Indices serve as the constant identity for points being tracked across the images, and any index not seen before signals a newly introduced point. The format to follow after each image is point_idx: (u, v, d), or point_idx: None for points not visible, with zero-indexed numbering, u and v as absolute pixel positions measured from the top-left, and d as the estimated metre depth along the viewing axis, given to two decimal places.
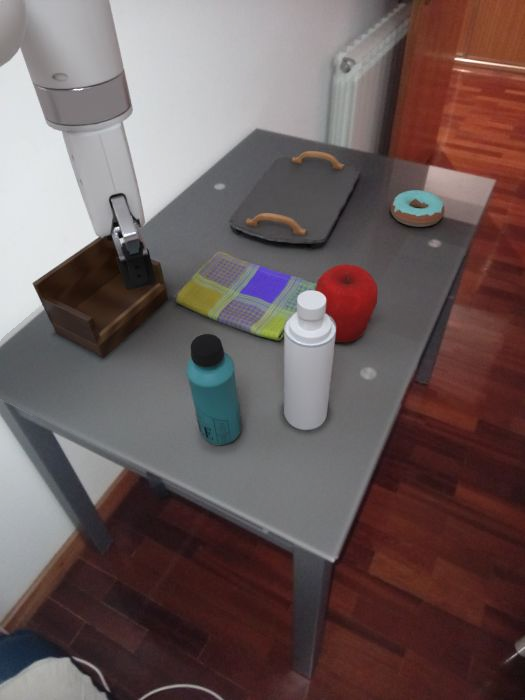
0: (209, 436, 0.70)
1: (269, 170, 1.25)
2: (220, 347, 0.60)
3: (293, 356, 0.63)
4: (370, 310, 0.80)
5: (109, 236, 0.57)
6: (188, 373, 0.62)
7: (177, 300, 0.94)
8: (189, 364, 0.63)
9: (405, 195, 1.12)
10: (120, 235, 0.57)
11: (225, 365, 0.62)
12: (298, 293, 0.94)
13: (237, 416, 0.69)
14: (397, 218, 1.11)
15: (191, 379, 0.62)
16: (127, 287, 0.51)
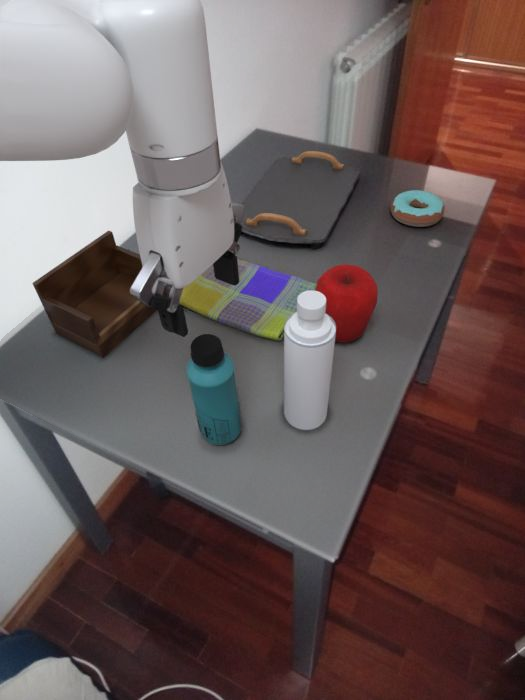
0: (209, 436, 0.70)
1: (269, 170, 1.25)
2: (220, 347, 0.60)
3: (293, 356, 0.63)
4: (370, 310, 0.80)
5: (215, 274, 0.58)
6: (188, 373, 0.62)
7: None
8: (189, 364, 0.63)
9: (405, 195, 1.12)
10: (224, 279, 0.58)
11: (225, 365, 0.62)
12: (298, 293, 0.94)
13: (237, 416, 0.69)
14: (397, 218, 1.11)
15: (191, 379, 0.62)
16: None
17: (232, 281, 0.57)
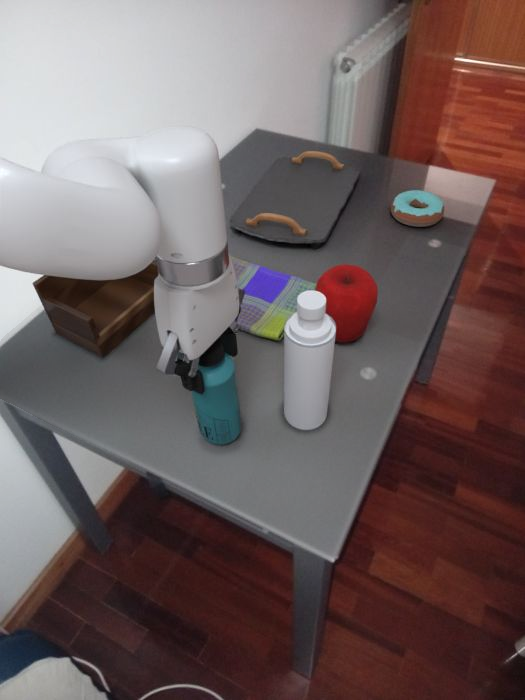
0: (209, 436, 0.70)
1: (269, 170, 1.25)
2: (220, 347, 0.60)
3: (293, 356, 0.63)
4: (370, 310, 0.80)
5: None
6: None
7: None
8: None
9: (405, 195, 1.12)
10: (224, 351, 0.65)
11: (225, 365, 0.62)
12: (298, 293, 0.94)
13: (237, 416, 0.69)
14: (397, 218, 1.11)
15: None
16: None
17: (232, 353, 0.65)
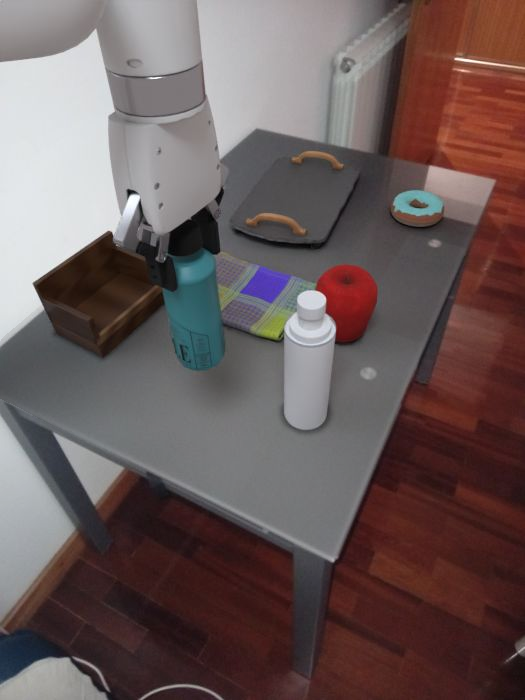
0: (186, 358, 0.59)
1: (269, 170, 1.25)
2: (198, 231, 0.49)
3: (293, 356, 0.63)
4: (370, 310, 0.80)
5: None
6: None
7: None
8: None
9: (405, 195, 1.12)
10: (204, 248, 0.54)
11: (204, 259, 0.51)
12: (298, 293, 0.94)
13: (219, 333, 0.58)
14: (397, 218, 1.11)
15: None
16: None
17: (212, 250, 0.53)
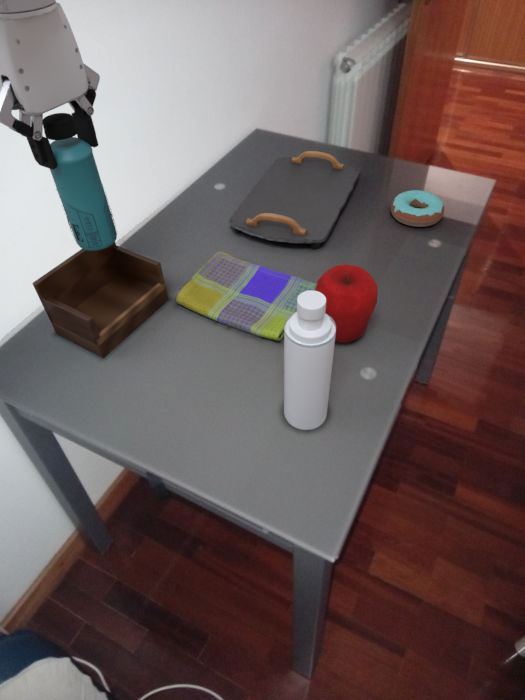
0: (80, 238, 0.73)
1: (269, 170, 1.25)
2: (70, 120, 0.62)
3: (293, 356, 0.63)
4: (370, 310, 0.80)
5: (79, 138, 0.68)
6: None
7: (177, 300, 0.94)
8: None
9: (405, 195, 1.12)
10: None
11: (80, 146, 0.65)
12: (298, 293, 0.94)
13: (105, 216, 0.72)
14: (397, 218, 1.11)
15: None
16: (38, 162, 0.64)
17: (91, 142, 0.67)
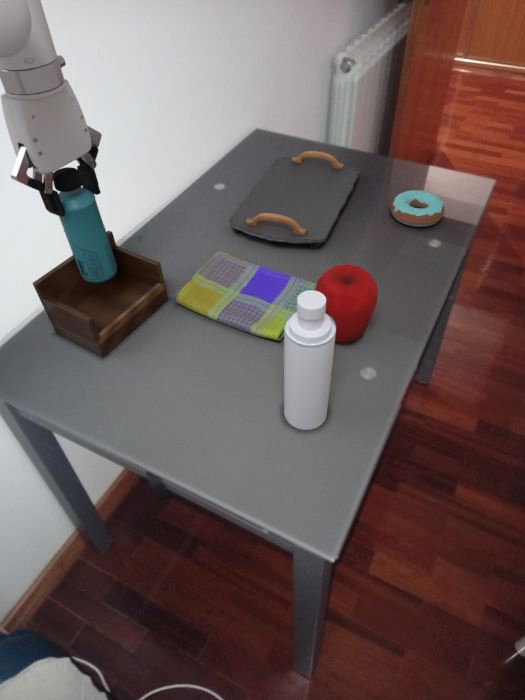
0: (84, 272, 0.82)
1: (269, 170, 1.25)
2: (76, 175, 0.72)
3: (293, 356, 0.63)
4: (370, 310, 0.80)
5: (83, 187, 0.78)
6: None
7: (177, 300, 0.94)
8: None
9: (405, 195, 1.12)
10: None
11: (85, 195, 0.74)
12: (298, 293, 0.94)
13: (107, 253, 0.81)
14: (397, 218, 1.11)
15: None
16: None
17: (94, 191, 0.77)
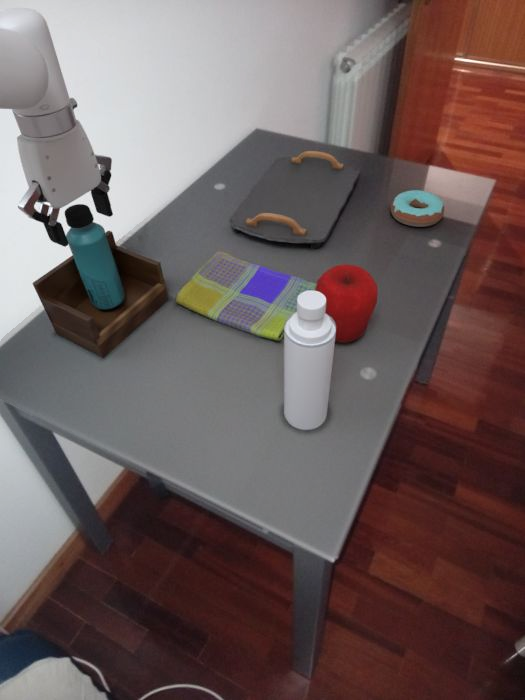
0: (94, 300, 0.87)
1: (269, 170, 1.25)
2: (87, 212, 0.76)
3: (293, 356, 0.63)
4: (370, 310, 0.80)
5: (96, 209, 0.82)
6: (66, 237, 0.79)
7: (177, 300, 0.94)
8: (68, 231, 0.80)
9: (405, 195, 1.12)
10: (102, 212, 0.81)
11: (95, 230, 0.79)
12: (298, 293, 0.94)
13: (115, 282, 0.86)
14: (397, 218, 1.11)
15: (68, 241, 0.78)
16: None
17: (107, 213, 0.81)
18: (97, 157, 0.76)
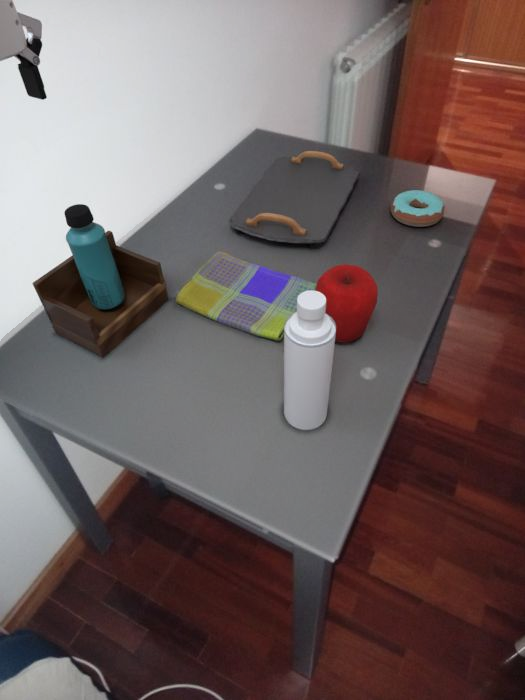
0: (94, 300, 0.87)
1: (269, 170, 1.25)
2: (87, 212, 0.76)
3: (293, 356, 0.63)
4: (370, 310, 0.80)
5: (27, 91, 0.67)
6: (66, 237, 0.79)
7: (177, 300, 0.94)
8: (68, 231, 0.80)
9: (405, 195, 1.12)
10: (33, 94, 0.67)
11: (95, 230, 0.79)
12: (298, 293, 0.94)
13: (115, 282, 0.86)
14: (397, 218, 1.11)
15: (68, 241, 0.78)
16: None
17: (39, 94, 0.66)
18: (21, 15, 0.61)
